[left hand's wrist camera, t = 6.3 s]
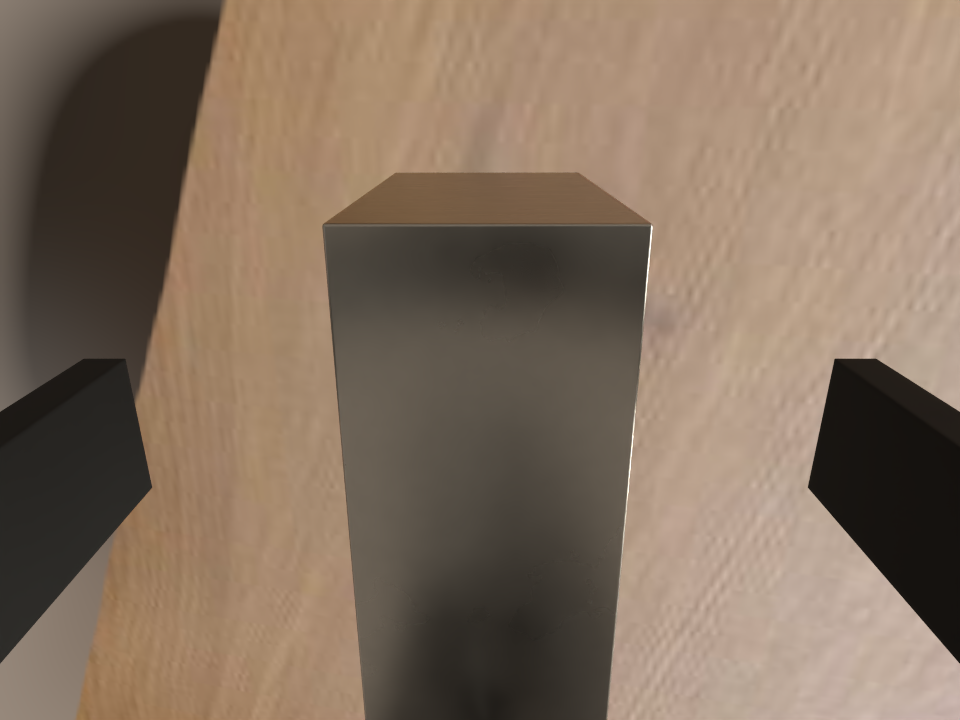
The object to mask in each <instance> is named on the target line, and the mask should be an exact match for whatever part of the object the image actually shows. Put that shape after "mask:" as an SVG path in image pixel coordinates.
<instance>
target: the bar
mask: <svg viewBox="0 0 960 720" xmlns="http://www.w3.org/2000/svg"><path fill="white" fill-rule="evenodd" d="M652 231H653V225H652V224H651V223H650V222H648V221H647V220H646V219H644V218H643V217H641V216H640V215H638V214H637V213H635V212H634V211H633V210H631V209H630V208H628V207H627V206H625V205H624V204H623V203H621V202H620V201H618V200H617V199H615V198H614V197H613V196H611V195H610V194H608V193H607V192H605V191H604V190H603V189H601V188H600V187H598V186H597V185H595V184H594V183H592V182H591V181H590V180H588V179H587V178H585V177H584V176H582V175H581V174H580V173H395V174H393V175H392V176H390V177H389V178H388V179H386V180H385V181H383V182H382V183H381V184H379V185H378V186H376V187H375V188H374V189H372V190H371V191H369V192H368V193H366V194H365V195H364V196H362V197H361V198H359V199H358V200H357V201H355V202H354V203H352V204H351V205H350V206H348V207H347V208H345V209H344V210H342V211H341V212H340V213H338V214H337V215H335V216H334V217H333V218H331V219H330V220H328V221H327V222H326V223H324V224H323V238H324V250H325V261H326V273H327V284H328V296H329V307H330V319H331V330H332V342H333V353H334V365H335V376H336V388H337V399H338V411H339V422H340V434H341V445H342V457H343V468H344V480H345V491H346V503H347V514H348V526H349V537H350V549H351V560H352V572H353V583H354V595H355V606H356V618H357V629H358V641H359V652H360V664H361V675H362V687H363V698H364V710H365V720H607V717H608V707H609V696H610V685H611V674H612V663H613V653H614V642H615V631H616V620H617V609H618V599H619V588H620V577H621V566H622V555H623V545H624V534H625V523H626V512H627V501H628V491H629V480H630V469H631V458H632V447H633V437H634V426H635V415H636V404H637V393H638V383H639V372H640V361H641V350H642V339H643V329H644V318H645V307H646V296H647V285H648V275H649V264H650V253H651V242H652Z"/></svg>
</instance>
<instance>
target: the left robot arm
mask: <svg viewBox="0 0 960 720" xmlns="http://www.w3.org/2000/svg"><path fill="white" fill-rule="evenodd" d="M151 488H152V485H151V480H150V475H149V470H148V466H147V461H146V456H145V451H144V446H143V442H142V437H141V432H140V427H139V422H138V418H137V413H136V408H135V403H134V398H133V394H132V389H131V384H130V379H129V374H128V370H127V365H126V360H125V359H83V360H81V361H80V362H78V363H76V364H75V365H73V366H72V367H70V368H69V369H67V370H66V371H64V372H62V373H61V374H59V375H58V376H56V377H54V378H53V379H51V380H50V381H48V382H47V383H45V384H43V385H42V386H40V387H39V388H37V389H36V390H34V391H32V392H31V393H29V394H28V395H26V396H25V397H23V398H21V399H20V400H18V401H17V402H15V403H13V404H12V405H10V406H9V407H7V408H6V409H4V410H2V411H1V412H0V663H1V662H2V661H3V660H4V658H5V657H6V656H7V655H8V654H9V653H10V651H11V650H12V649H13V648H14V647H15V646H16V644H17V643H18V642H19V641H20V640H21V639H22V638H23V636H24V635H25V634H26V633H27V632H28V631H29V630H30V628H31V627H32V626H33V625H34V624H35V623H36V621H37V620H38V619H39V618H40V617H41V616H42V614H43V613H44V612H45V611H46V610H47V609H48V607H49V606H50V605H51V604H52V603H53V602H54V601H55V599H56V598H57V597H58V596H59V595H60V594H61V592H62V591H63V590H64V589H65V588H66V587H67V585H68V584H69V583H70V582H71V581H72V580H73V578H74V577H75V576H76V575H77V574H78V573H79V572H80V570H81V569H82V568H83V567H84V566H85V565H86V563H87V562H88V561H89V560H90V559H91V558H92V557H93V555H94V554H95V553H96V552H97V551H98V550H99V548H100V547H101V546H102V545H103V544H104V543H105V541H106V540H107V539H108V538H109V537H110V536H111V534H112V533H113V532H114V531H115V530H116V529H117V528H118V526H119V525H120V524H121V523H122V522H123V521H124V519H125V518H126V517H127V516H128V515H129V514H130V512H131V511H132V510H133V509H134V508H135V507H136V506H137V504H138V503H139V502H140V501H141V500H142V499H143V497H144V496H145V495H146V494H147V493H148V492H149V490H150V489H151ZM808 488H809V489H810V490H811V492H812V493H813V494H814V495H815V496H816V497H817V499H818V500H819V501H820V502H821V503H822V504H823V506H824V507H825V508H826V509H827V510H828V511H829V512H830V514H831V515H832V516H833V517H834V518H835V519H836V521H837V522H838V523H839V524H840V525H841V526H842V528H843V529H844V530H845V531H846V532H847V533H848V534H849V536H850V537H851V538H852V539H853V540H854V541H855V543H856V544H857V545H858V546H859V547H860V548H861V550H862V551H863V552H864V553H865V554H866V555H867V557H868V558H869V559H870V560H871V561H872V562H873V563H874V565H875V566H876V567H877V568H878V569H879V570H880V572H881V573H882V574H883V575H884V576H885V577H886V579H887V580H888V581H889V582H890V583H891V584H892V585H893V587H894V588H895V589H896V590H897V591H898V592H899V594H900V595H901V596H902V597H903V598H904V599H905V601H906V602H907V603H908V604H909V605H910V606H911V608H912V609H913V610H914V611H915V612H916V613H917V614H918V616H919V617H920V618H921V619H922V620H923V621H924V623H925V624H926V625H927V626H928V627H929V628H930V630H931V631H932V632H933V633H934V634H935V635H936V636H937V638H938V639H939V640H940V641H941V642H942V643H943V645H944V646H945V647H946V648H947V649H948V650H949V652H950V653H951V654H952V655H953V656H954V657H955V659H956V660H957V661H958V662H959V663H960V412H959V411H958V410H956V409H954V408H953V407H951V406H950V405H948V404H947V403H945V402H943V401H942V400H940V399H939V398H937V397H935V396H934V395H932V394H931V393H929V392H928V391H926V390H924V389H923V388H921V387H920V386H918V385H917V384H915V383H913V382H912V381H910V380H909V379H907V378H906V377H904V376H902V375H901V374H899V373H898V372H896V371H895V370H893V369H891V368H890V367H888V366H887V365H885V364H883V363H882V362H880V361H879V360H877V359H835V360H834V365H833V370H832V374H831V379H830V384H829V389H828V394H827V398H826V403H825V408H824V413H823V418H822V422H821V427H820V432H819V437H818V442H817V446H816V451H815V456H814V461H813V466H812V470H811V475H810V480H809V485H808Z"/></svg>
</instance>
